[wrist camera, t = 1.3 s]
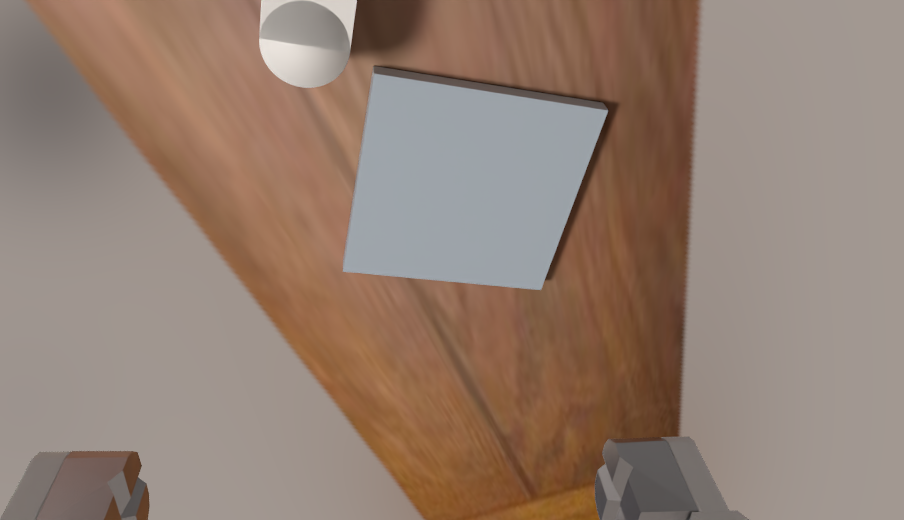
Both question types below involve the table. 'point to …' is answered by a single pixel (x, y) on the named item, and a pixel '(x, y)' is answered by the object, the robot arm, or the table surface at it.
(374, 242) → the grey pad
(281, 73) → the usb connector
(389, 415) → the table surface
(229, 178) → the table surface
